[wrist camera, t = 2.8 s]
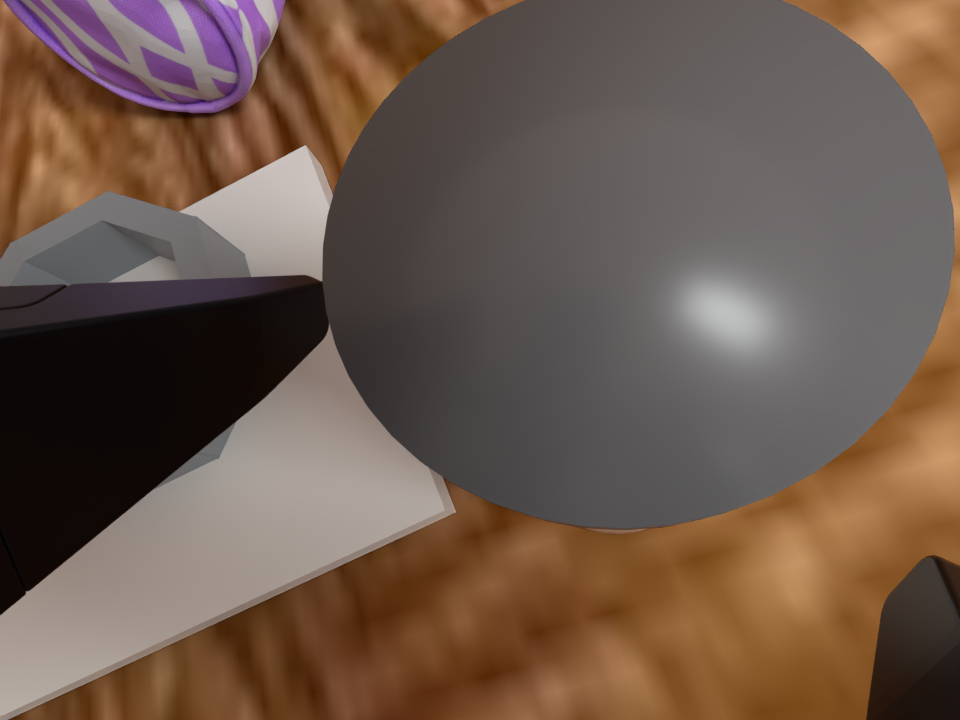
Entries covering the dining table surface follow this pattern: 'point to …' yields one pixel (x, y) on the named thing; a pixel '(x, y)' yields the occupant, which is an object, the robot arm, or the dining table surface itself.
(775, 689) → the dining table surface
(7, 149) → the dining table surface
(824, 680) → the dining table surface
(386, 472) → the socket plate
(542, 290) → the canister
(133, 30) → the pencil case
